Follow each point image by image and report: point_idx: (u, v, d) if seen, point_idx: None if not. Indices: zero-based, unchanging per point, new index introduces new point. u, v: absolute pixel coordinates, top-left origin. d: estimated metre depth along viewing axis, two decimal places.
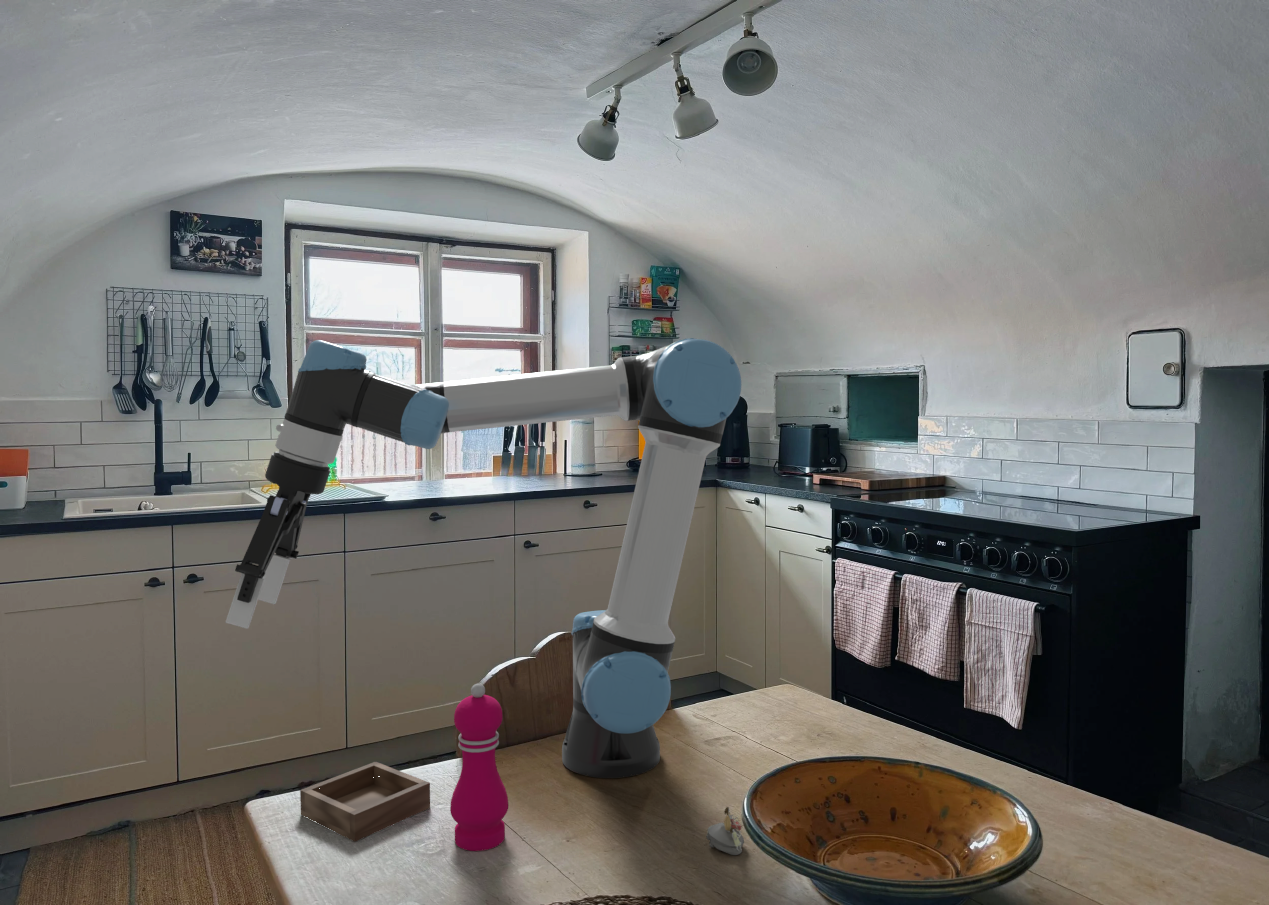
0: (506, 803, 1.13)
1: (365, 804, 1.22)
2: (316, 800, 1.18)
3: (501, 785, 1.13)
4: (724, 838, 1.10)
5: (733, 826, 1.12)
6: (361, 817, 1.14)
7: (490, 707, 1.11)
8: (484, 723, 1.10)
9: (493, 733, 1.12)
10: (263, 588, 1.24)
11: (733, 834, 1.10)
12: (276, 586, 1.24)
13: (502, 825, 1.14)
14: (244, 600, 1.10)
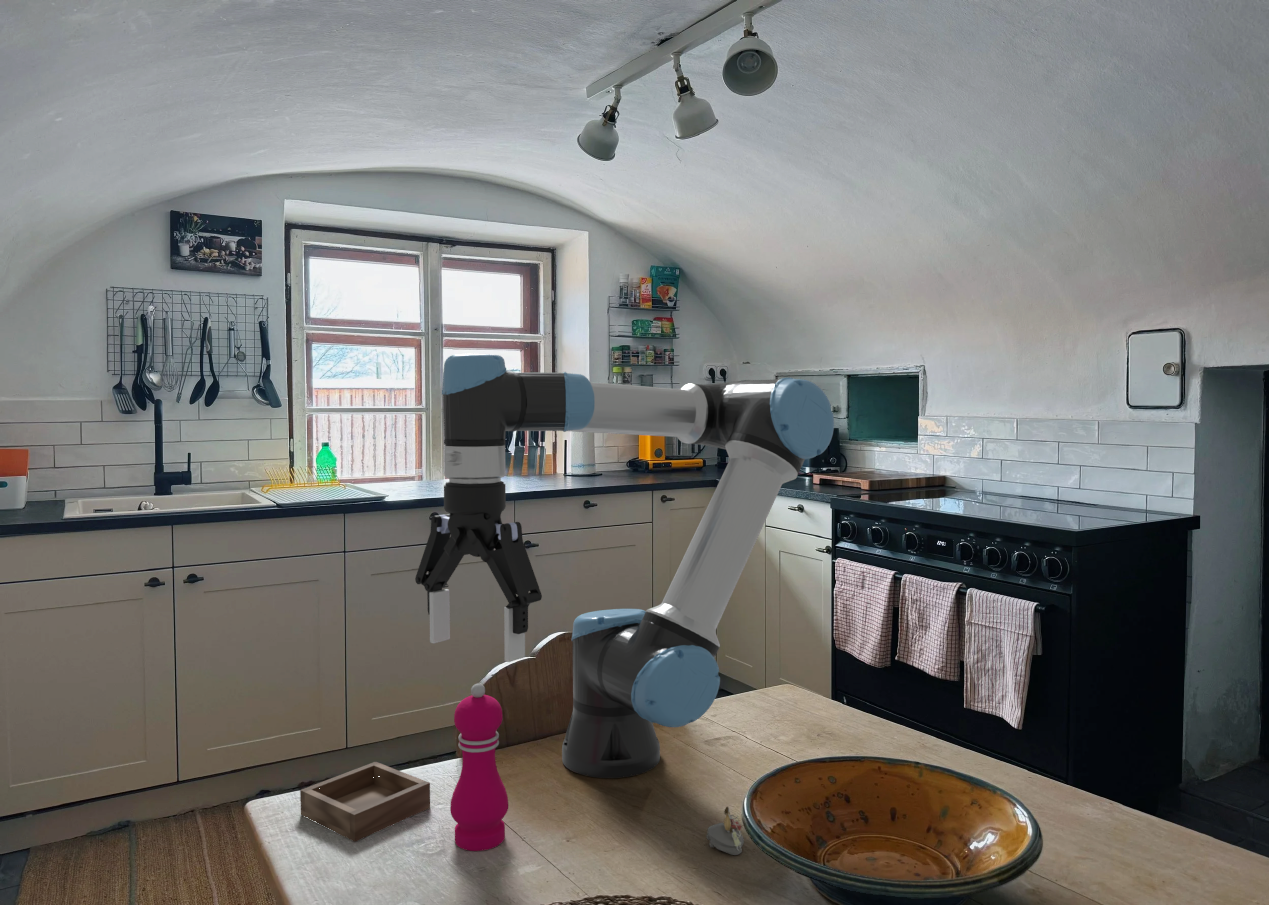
0: (506, 803, 1.13)
1: (365, 804, 1.22)
2: (316, 800, 1.18)
3: (501, 785, 1.13)
4: (724, 838, 1.10)
5: (733, 826, 1.12)
6: (361, 817, 1.14)
7: (490, 707, 1.11)
8: (484, 723, 1.10)
9: (493, 733, 1.12)
10: (437, 629, 1.16)
11: (733, 834, 1.10)
12: (446, 621, 1.17)
13: (502, 825, 1.14)
14: (524, 631, 1.07)
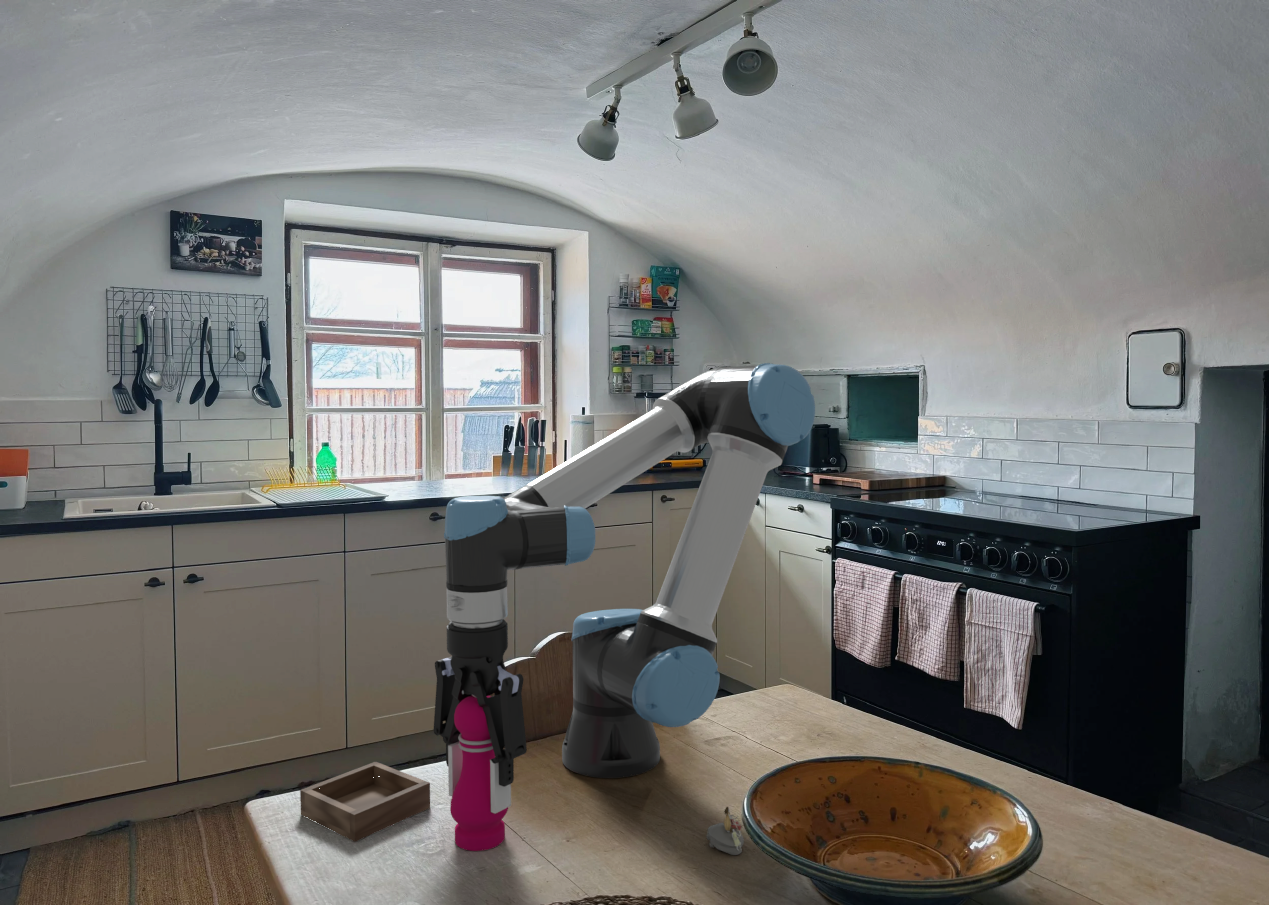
0: None
1: (365, 804, 1.22)
2: (316, 800, 1.18)
3: None
4: (724, 838, 1.10)
5: (733, 826, 1.12)
6: (361, 817, 1.14)
7: None
8: (484, 723, 1.10)
9: None
10: (456, 782, 1.15)
11: (733, 834, 1.10)
12: None
13: (502, 824, 1.14)
14: (509, 783, 1.10)
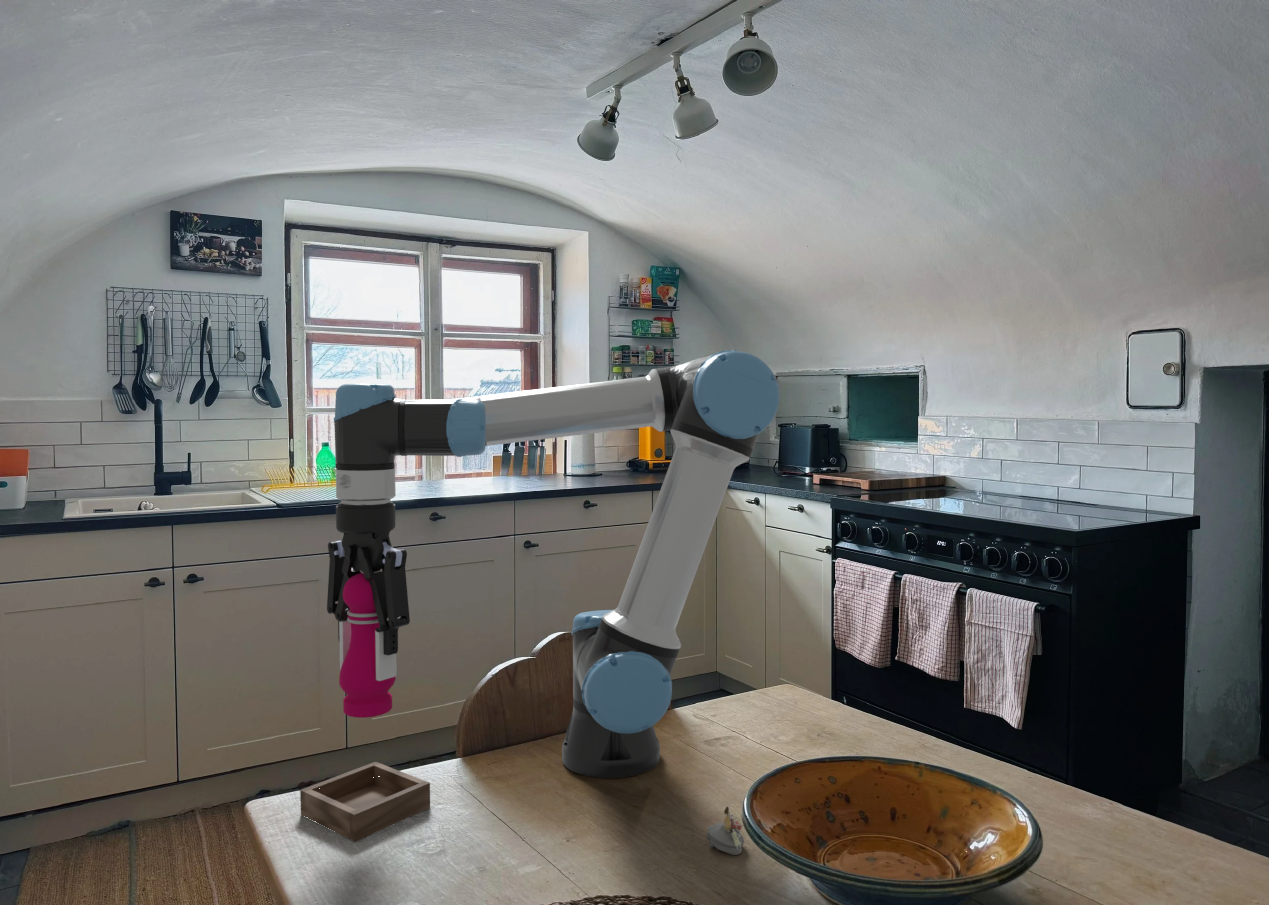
0: None
1: (365, 804, 1.22)
2: (316, 800, 1.18)
3: None
4: (724, 838, 1.10)
5: (733, 826, 1.12)
6: (361, 817, 1.14)
7: None
8: (370, 596, 1.17)
9: None
10: None
11: (733, 834, 1.10)
12: None
13: (389, 696, 1.20)
14: (394, 652, 1.17)
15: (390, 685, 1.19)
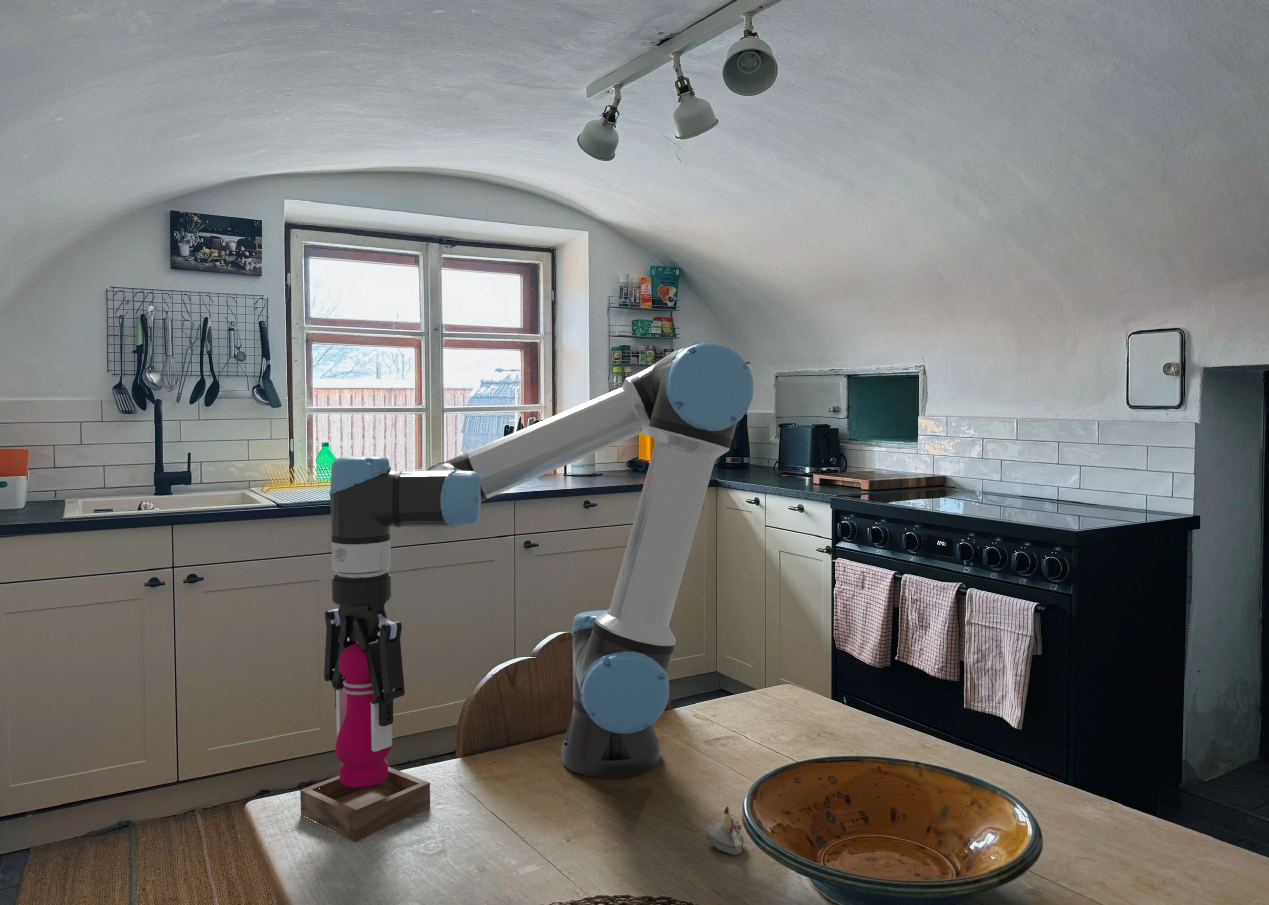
0: None
1: (365, 804, 1.22)
2: (316, 800, 1.18)
3: None
4: (724, 838, 1.10)
5: (733, 826, 1.12)
6: (361, 817, 1.14)
7: None
8: (365, 667, 1.18)
9: None
10: None
11: (733, 834, 1.10)
12: None
13: (385, 764, 1.21)
14: (389, 723, 1.18)
15: (386, 754, 1.20)
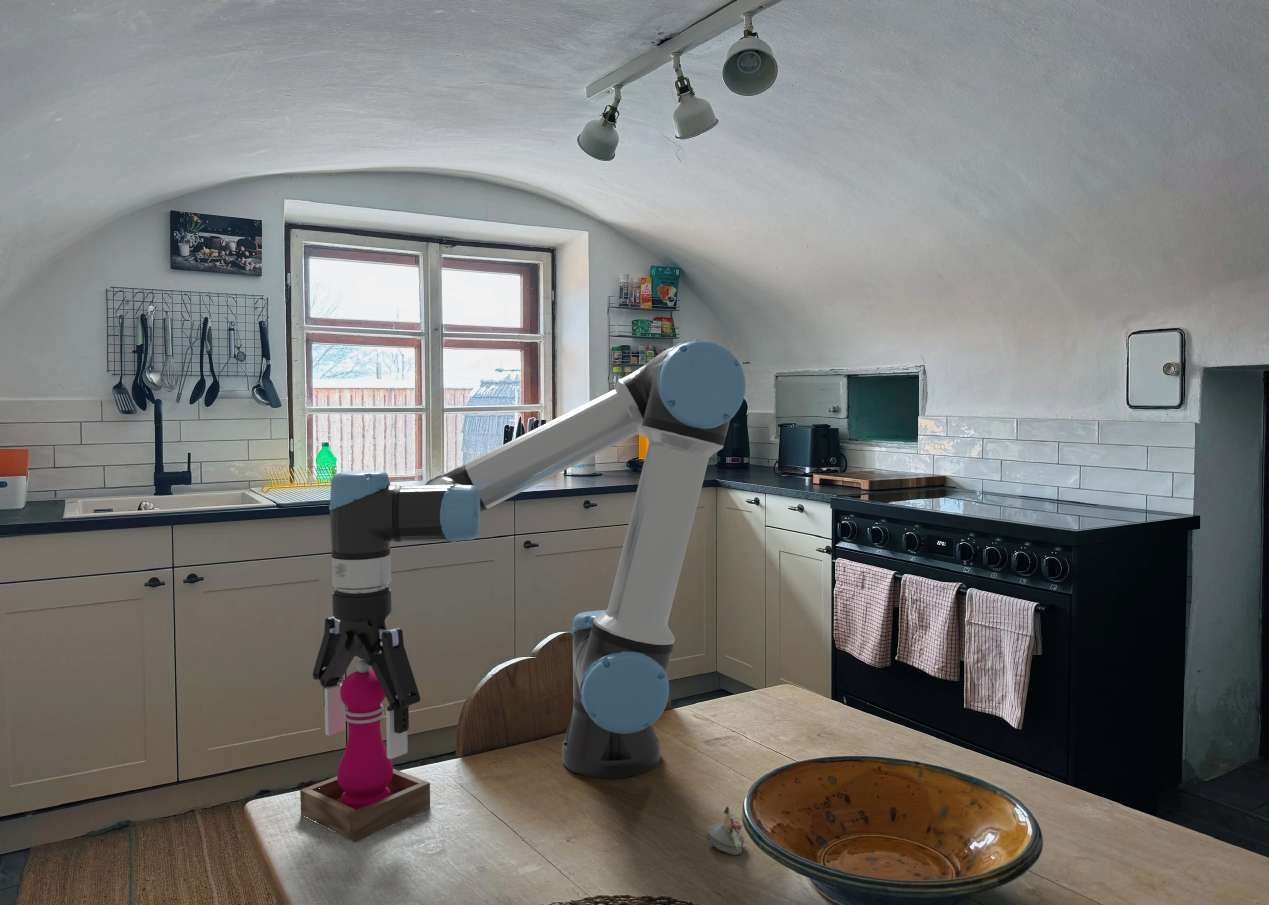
0: (390, 772, 1.21)
1: None
2: (316, 800, 1.18)
3: (385, 755, 1.21)
4: (724, 838, 1.10)
5: (733, 826, 1.12)
6: (361, 817, 1.14)
7: (373, 681, 1.19)
8: (366, 696, 1.18)
9: (377, 706, 1.20)
10: (332, 722, 1.24)
11: (733, 834, 1.10)
12: (341, 713, 1.26)
13: (387, 792, 1.22)
14: (404, 730, 1.16)
15: (387, 782, 1.20)
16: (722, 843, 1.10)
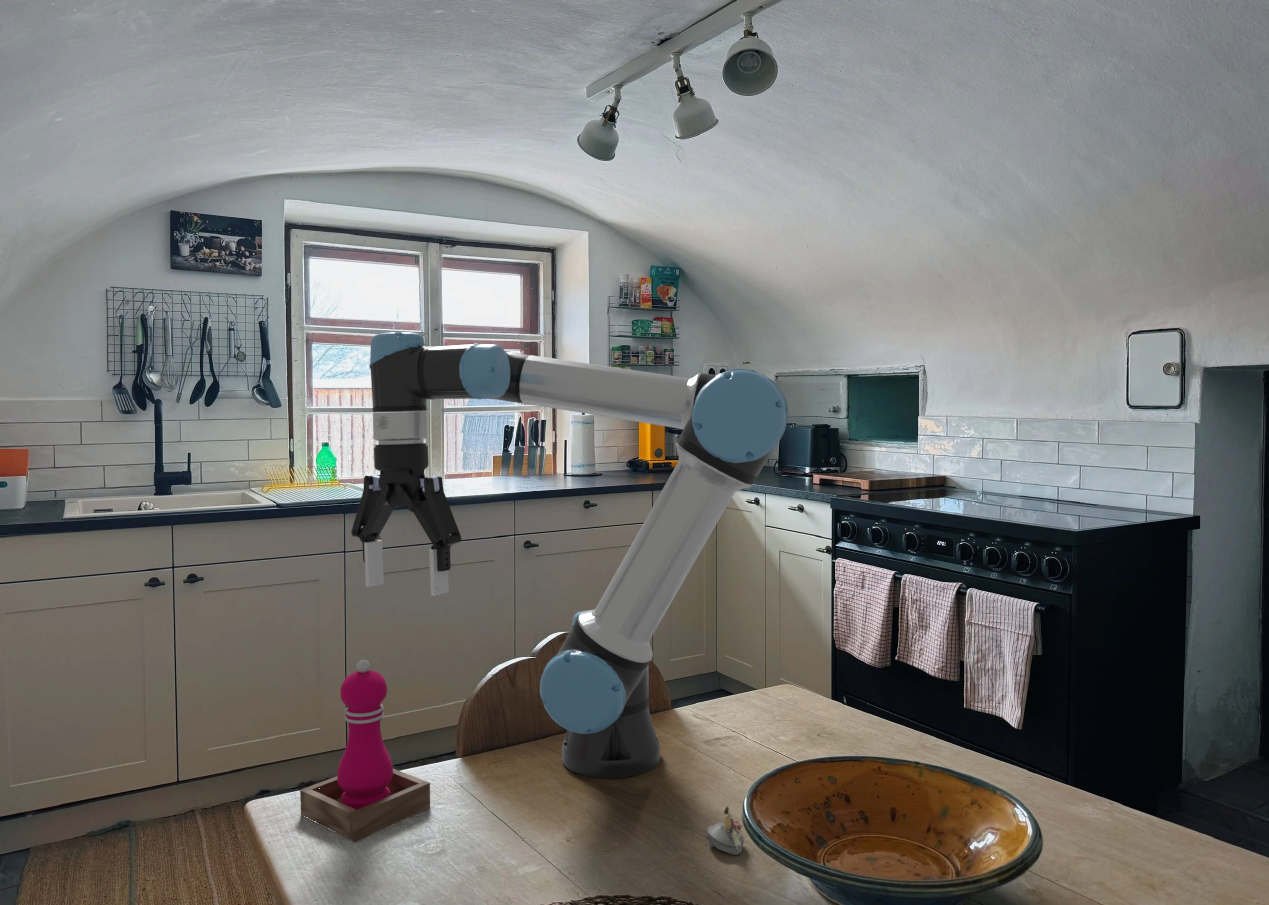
0: (390, 772, 1.21)
1: None
2: (316, 800, 1.18)
3: (385, 755, 1.21)
4: (724, 838, 1.10)
5: (733, 826, 1.12)
6: (361, 817, 1.14)
7: (374, 681, 1.19)
8: (366, 696, 1.18)
9: (377, 706, 1.20)
10: (372, 574, 1.33)
11: (733, 834, 1.10)
12: (380, 568, 1.34)
13: (387, 792, 1.22)
14: (447, 569, 1.25)
15: (387, 782, 1.20)
16: (722, 843, 1.10)
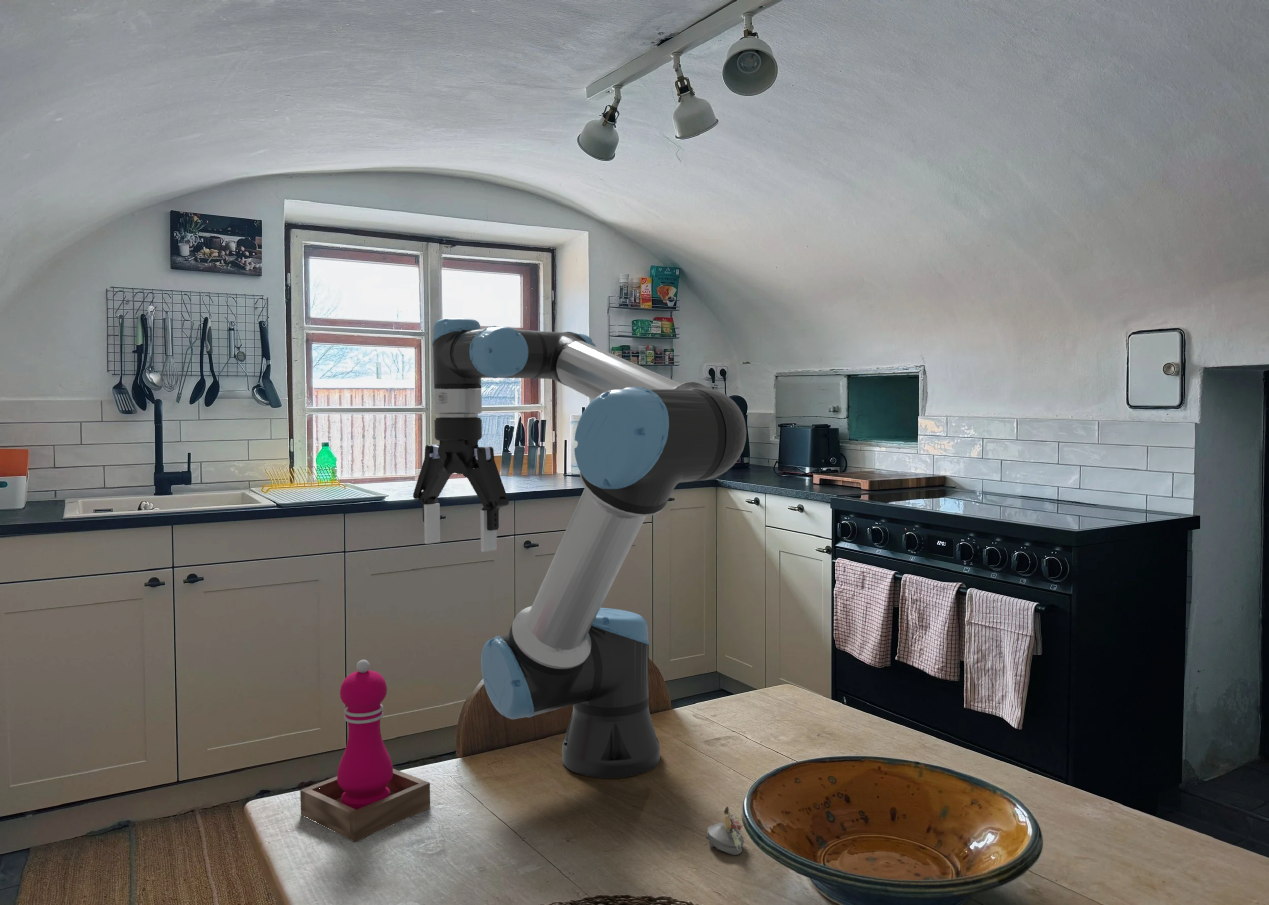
0: (390, 771, 1.21)
1: None
2: (316, 800, 1.18)
3: (385, 755, 1.21)
4: (724, 838, 1.10)
5: (733, 826, 1.12)
6: (361, 817, 1.14)
7: (373, 681, 1.19)
8: (366, 696, 1.18)
9: (377, 706, 1.20)
10: (430, 533, 1.50)
11: (733, 834, 1.10)
12: (437, 527, 1.51)
13: (387, 792, 1.22)
14: (495, 528, 1.42)
15: (387, 782, 1.20)
16: (722, 843, 1.10)
